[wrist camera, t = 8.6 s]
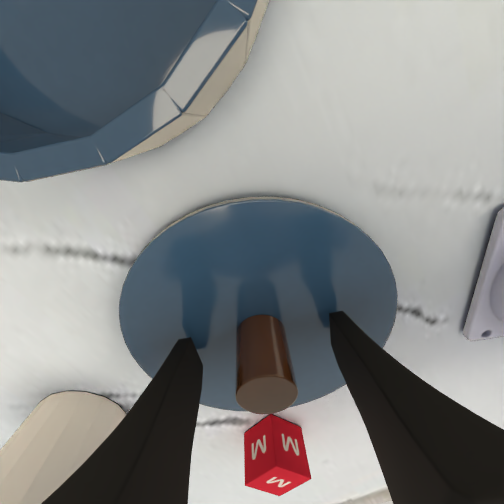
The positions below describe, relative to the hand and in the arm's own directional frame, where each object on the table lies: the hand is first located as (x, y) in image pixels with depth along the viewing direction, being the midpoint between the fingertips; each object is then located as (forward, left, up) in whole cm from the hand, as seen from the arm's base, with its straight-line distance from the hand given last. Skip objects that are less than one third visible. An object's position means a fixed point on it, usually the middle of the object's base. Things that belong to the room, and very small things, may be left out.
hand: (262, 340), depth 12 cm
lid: (0, 0, -1) cm, 1 cm away
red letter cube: (+1, +11, -2) cm, 11 cm away
